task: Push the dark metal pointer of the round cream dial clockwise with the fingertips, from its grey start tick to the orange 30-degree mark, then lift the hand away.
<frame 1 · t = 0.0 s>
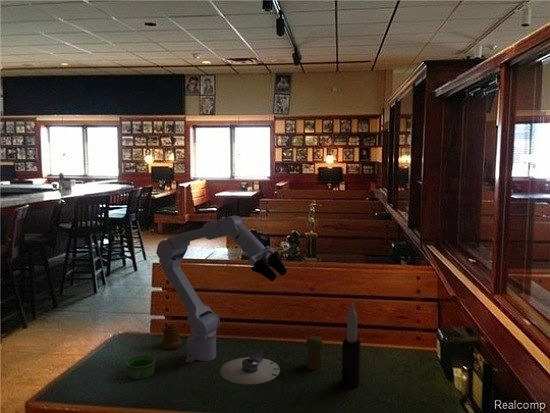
hand: (280, 276, 141), 32 cm above the table, tool tilted 50°, fingers open, 7 cm apart
cork: (314, 370, 149), on the table
ramekin: (141, 374, 146), on the table
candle: (350, 383, 141), on the table
ornamental finial: (171, 346, 168), on the table
dial pointer: (253, 361, 148), point 3 cm above the table, hinge at 0.0°
dial plate: (250, 374, 146), on the table
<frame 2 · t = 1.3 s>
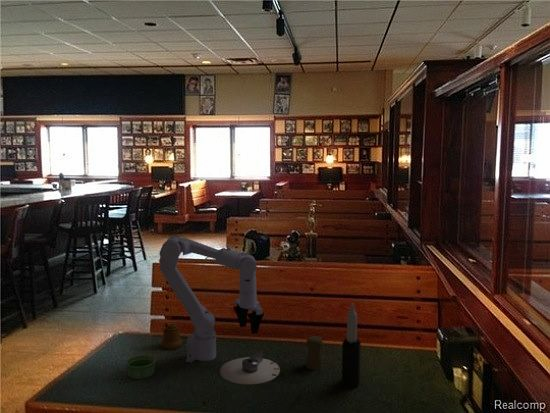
hand: (248, 329, 156), 10 cm above the table, tool pointing down, fingers open, 7 cm apart
nothing on the table moved.
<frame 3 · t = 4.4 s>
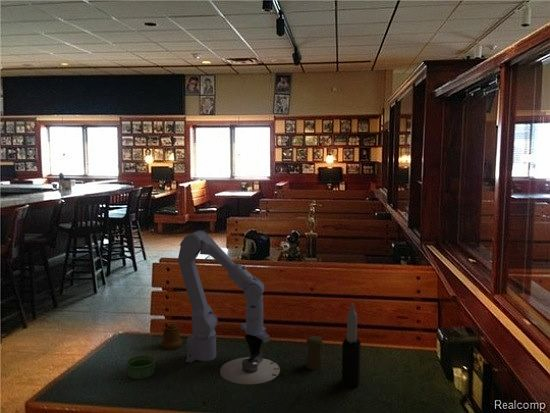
hand: (254, 356, 153), 3 cm above the table, tool pointing down, fingers closed, pressing on dial pointer
dial pointer: (253, 361, 148), point 3 cm above the table, hinge at -0.1°, touching gripper
everything else where it was.
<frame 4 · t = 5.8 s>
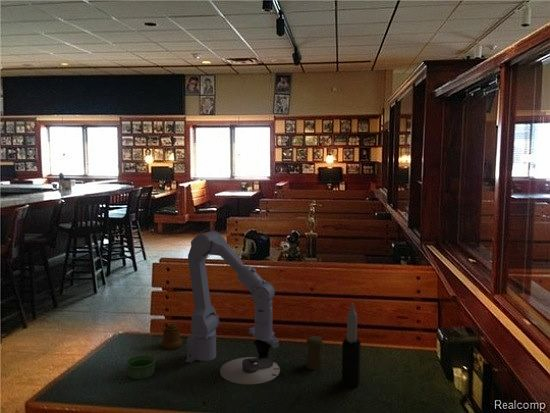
hand: (263, 361, 149), 3 cm above the table, tool pointing down, fingers closed, pressing on dial pointer
dial pointer: (257, 363, 147), point 3 cm above the table, hinge at -42.9°, touching gripper
everything else where it was.
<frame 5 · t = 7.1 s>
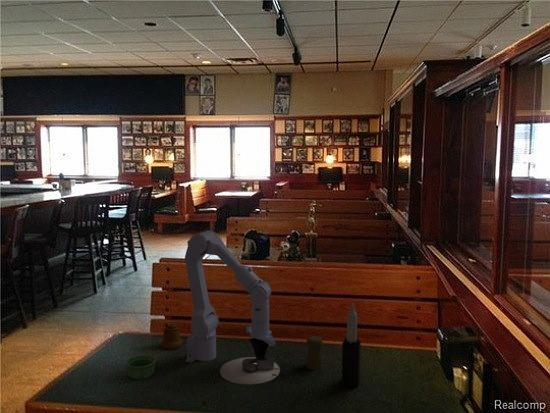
hand: (260, 360, 150), 3 cm above the table, tool pointing down, fingers closed
dial pointer: (257, 364, 146), point 3 cm above the table, hinge at -59.3°
everything else where it was.
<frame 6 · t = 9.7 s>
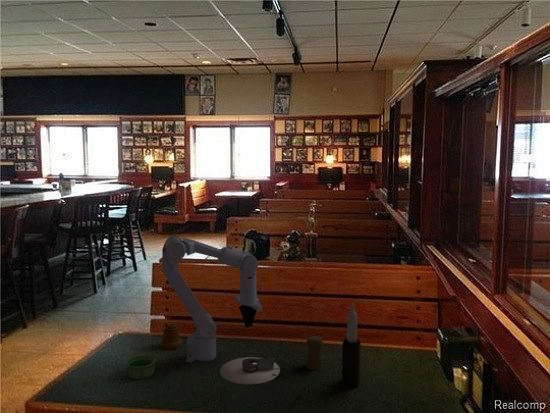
hand: (248, 326, 160), 10 cm above the table, tool pointing down, fingers closed
nothing on the table moved.
at the end: dial pointer at -60° (first picture: +0°) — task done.
